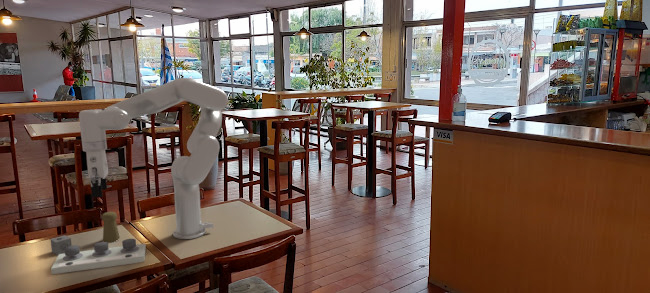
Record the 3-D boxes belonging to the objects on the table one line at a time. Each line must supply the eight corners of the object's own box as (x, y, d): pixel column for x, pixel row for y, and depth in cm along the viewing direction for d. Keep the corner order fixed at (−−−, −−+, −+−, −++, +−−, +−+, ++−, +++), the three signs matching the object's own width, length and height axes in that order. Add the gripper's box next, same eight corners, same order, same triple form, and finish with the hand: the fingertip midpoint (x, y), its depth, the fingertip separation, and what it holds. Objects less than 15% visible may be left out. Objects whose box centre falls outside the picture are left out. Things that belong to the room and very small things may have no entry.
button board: (145, 248, 166) (145, 242, 165) (144, 261, 155) (143, 255, 154) (59, 259, 157) (59, 253, 156) (51, 274, 145) (50, 267, 145)
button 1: (80, 250, 156) (80, 244, 156) (78, 254, 152) (77, 249, 152) (66, 251, 155) (65, 246, 154) (63, 256, 151) (63, 251, 150)
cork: (113, 243, 171) (110, 215, 169) (99, 241, 172) (96, 214, 170) (123, 237, 177) (120, 210, 175) (109, 236, 178) (107, 209, 176)
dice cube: (51, 252, 163) (50, 239, 162) (66, 247, 167) (65, 235, 166) (57, 255, 160) (55, 242, 159) (72, 251, 164) (70, 238, 163)
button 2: (136, 243, 162) (136, 237, 162) (135, 247, 158) (135, 242, 158) (123, 244, 161) (122, 239, 160) (122, 249, 156) (121, 244, 156)
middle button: (109, 246, 159) (108, 241, 159) (107, 251, 155) (107, 245, 155) (95, 248, 158) (94, 242, 157) (93, 253, 154) (93, 247, 153)
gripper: (102, 149, 148) (107, 199, 151) (110, 140, 164) (115, 186, 167) (77, 150, 146) (82, 201, 149) (87, 142, 162) (92, 187, 165)
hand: (99, 193), depth 158 cm, fingers open, 9 cm apart
